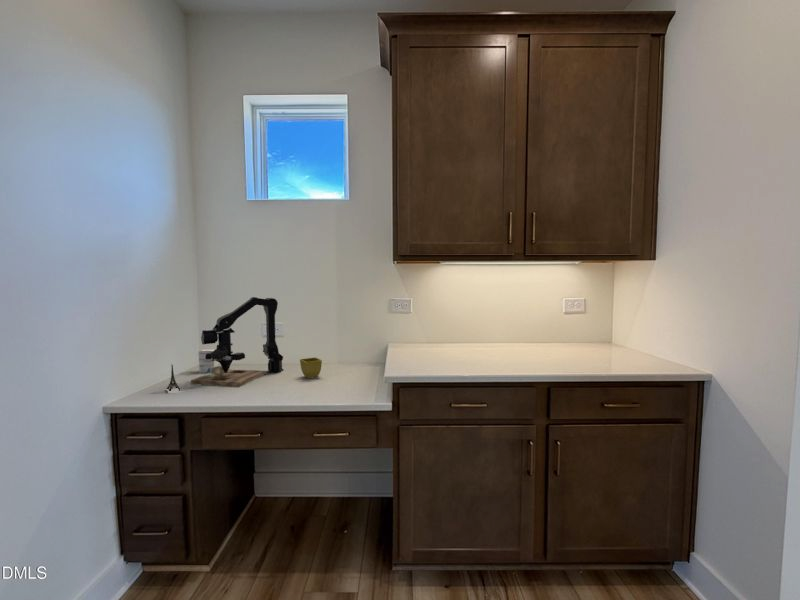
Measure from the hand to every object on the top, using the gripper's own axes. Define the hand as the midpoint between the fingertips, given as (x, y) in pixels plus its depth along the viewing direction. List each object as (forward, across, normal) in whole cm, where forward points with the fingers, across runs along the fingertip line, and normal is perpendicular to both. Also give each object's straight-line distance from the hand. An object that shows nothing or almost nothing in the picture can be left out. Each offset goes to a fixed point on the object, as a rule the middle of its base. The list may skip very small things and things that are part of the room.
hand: (225, 372), depth 208 cm
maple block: (+1, -4, 0) cm, 4 cm away
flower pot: (+4, +41, +11) cm, 42 cm away
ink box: (+3, -19, +13) cm, 23 cm away
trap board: (+3, +2, 0) cm, 4 cm away
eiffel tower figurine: (+4, -13, -22) cm, 26 cm away
